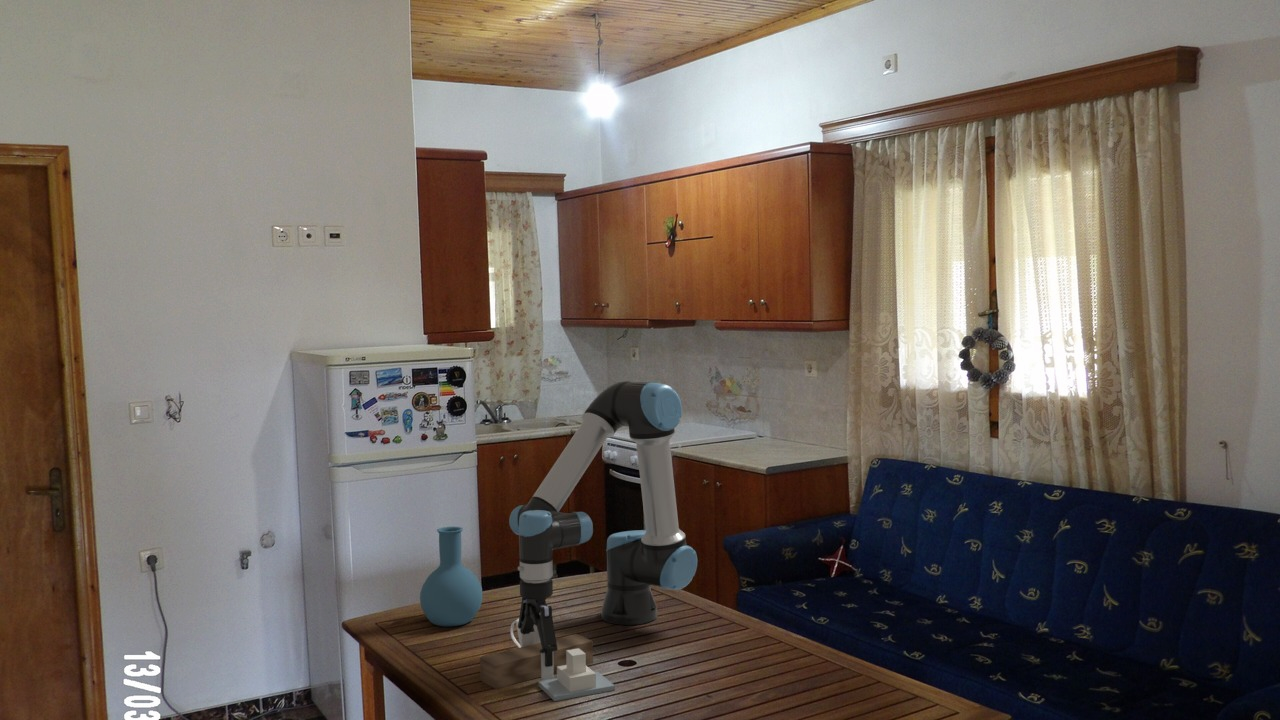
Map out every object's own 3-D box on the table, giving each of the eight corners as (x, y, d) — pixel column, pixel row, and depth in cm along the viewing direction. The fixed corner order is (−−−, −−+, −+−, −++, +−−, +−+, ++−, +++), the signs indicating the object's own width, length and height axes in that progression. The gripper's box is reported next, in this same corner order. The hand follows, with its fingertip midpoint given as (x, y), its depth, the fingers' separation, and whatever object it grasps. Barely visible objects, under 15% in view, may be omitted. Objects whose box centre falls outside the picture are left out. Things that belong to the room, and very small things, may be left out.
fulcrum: (597, 675, 230) (596, 640, 230) (614, 689, 221) (614, 653, 221) (538, 685, 224) (538, 650, 224) (554, 701, 215) (553, 664, 215)
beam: (576, 656, 244) (576, 633, 244) (593, 664, 239) (592, 641, 238) (480, 681, 228) (479, 657, 228) (495, 690, 223) (495, 665, 223)
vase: (495, 617, 275) (493, 526, 274) (453, 634, 261) (451, 538, 260) (450, 608, 284) (448, 520, 283) (407, 624, 270) (405, 531, 269)
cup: (531, 658, 242) (530, 625, 241) (501, 651, 248) (500, 618, 247) (551, 650, 247) (550, 618, 247) (521, 643, 253) (520, 611, 253)
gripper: (503, 568, 242) (505, 656, 243) (538, 594, 220) (540, 690, 221) (533, 565, 245) (534, 651, 246) (571, 589, 223) (572, 685, 224)
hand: (537, 670), depth 233 cm, fingers open, 13 cm apart
